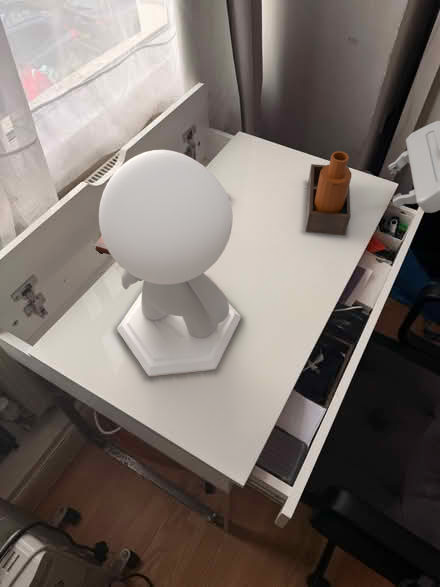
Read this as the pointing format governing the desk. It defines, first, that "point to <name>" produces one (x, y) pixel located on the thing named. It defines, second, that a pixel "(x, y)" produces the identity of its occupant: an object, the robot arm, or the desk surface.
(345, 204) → the box
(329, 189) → the bottle
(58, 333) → the desk surface
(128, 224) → the white cartoon figure
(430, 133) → the robot arm
